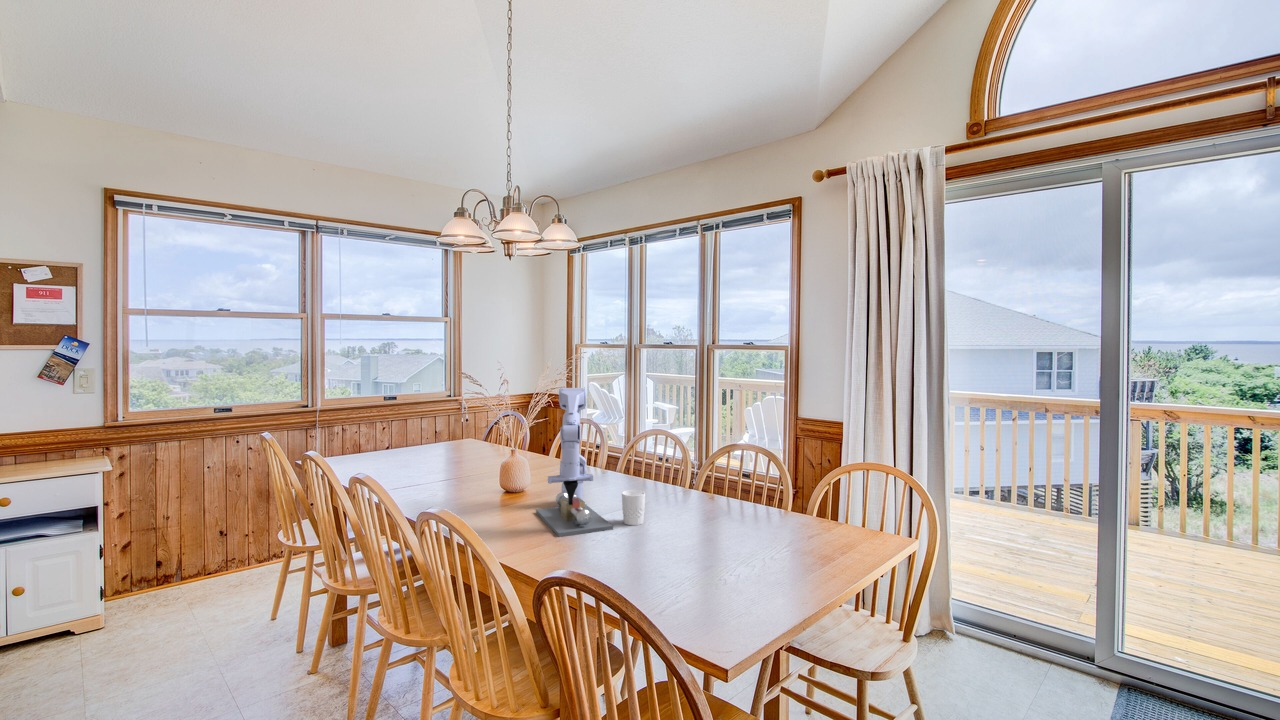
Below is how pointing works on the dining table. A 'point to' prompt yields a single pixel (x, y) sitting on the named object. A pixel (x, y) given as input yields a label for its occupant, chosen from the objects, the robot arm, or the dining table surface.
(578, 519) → the valve body
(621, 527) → the dining table surface
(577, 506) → the valve lever
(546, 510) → the mounting board
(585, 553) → the dining table surface
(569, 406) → the robot arm
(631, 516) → the white cup
